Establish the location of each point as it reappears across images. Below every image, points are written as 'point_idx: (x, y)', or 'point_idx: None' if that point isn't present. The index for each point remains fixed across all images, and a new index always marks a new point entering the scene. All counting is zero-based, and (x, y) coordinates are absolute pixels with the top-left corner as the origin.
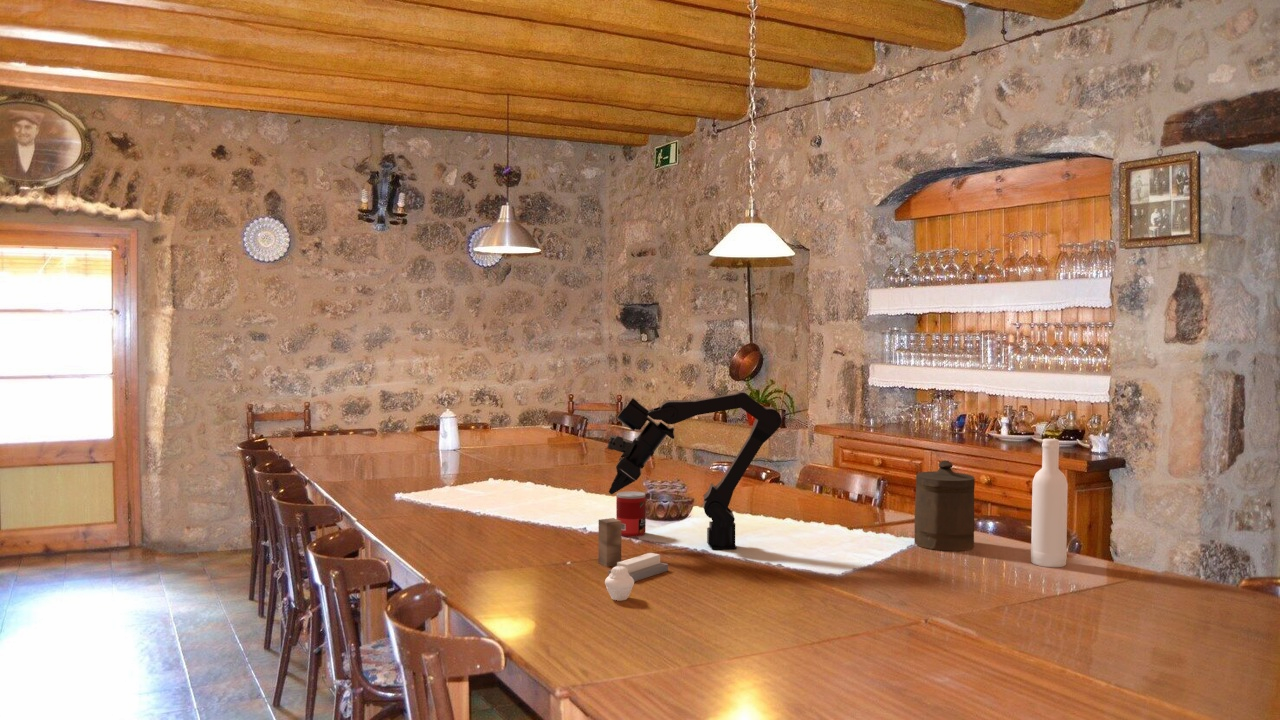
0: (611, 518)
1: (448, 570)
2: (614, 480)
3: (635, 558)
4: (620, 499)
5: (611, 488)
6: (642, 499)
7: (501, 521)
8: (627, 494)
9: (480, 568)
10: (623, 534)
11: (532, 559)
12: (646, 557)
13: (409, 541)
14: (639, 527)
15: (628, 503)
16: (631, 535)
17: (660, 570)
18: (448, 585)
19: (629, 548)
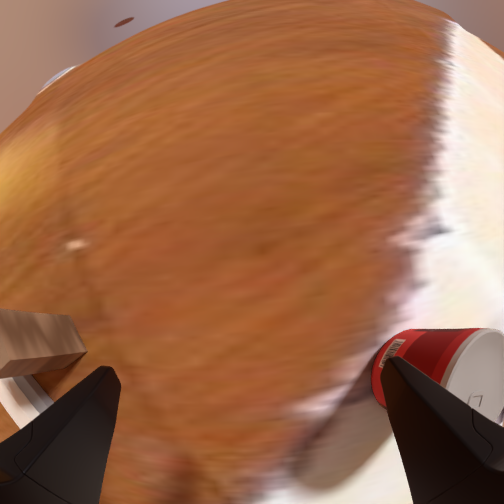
0: (5, 353)
1: (76, 82)
2: (27, 424)
3: (3, 390)
4: (446, 359)
5: (80, 389)
6: None
7: (422, 79)
8: (489, 371)
9: (72, 110)
10: (376, 357)
11: (107, 162)
12: (13, 413)
13: (250, 5)
14: (386, 408)
15: None
16: (371, 381)
17: None
18: (20, 117)
19: (221, 396)
